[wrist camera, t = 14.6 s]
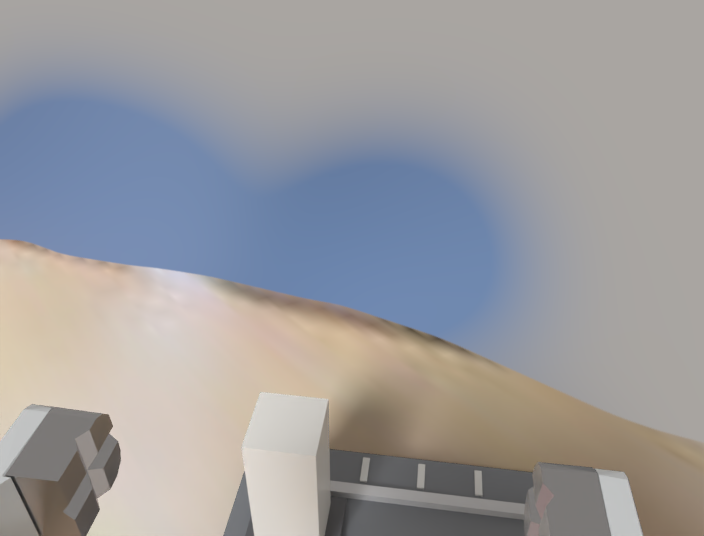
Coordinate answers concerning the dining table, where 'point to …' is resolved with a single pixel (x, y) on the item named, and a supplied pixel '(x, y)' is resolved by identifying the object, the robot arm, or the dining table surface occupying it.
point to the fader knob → (290, 468)
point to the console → (415, 497)
